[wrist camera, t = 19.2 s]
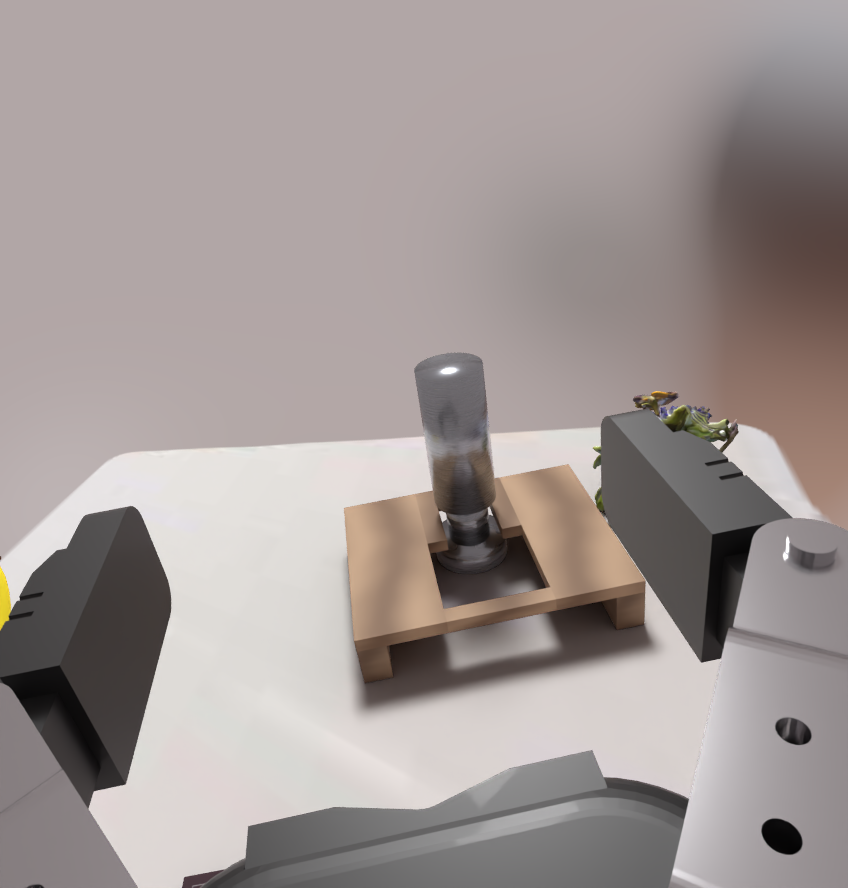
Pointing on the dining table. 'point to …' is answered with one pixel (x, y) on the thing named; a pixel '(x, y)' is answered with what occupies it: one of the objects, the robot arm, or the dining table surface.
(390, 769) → the dining table surface
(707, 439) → the passion flower
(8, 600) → the banana
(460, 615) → the keyhole plate
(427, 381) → the keyhole post
